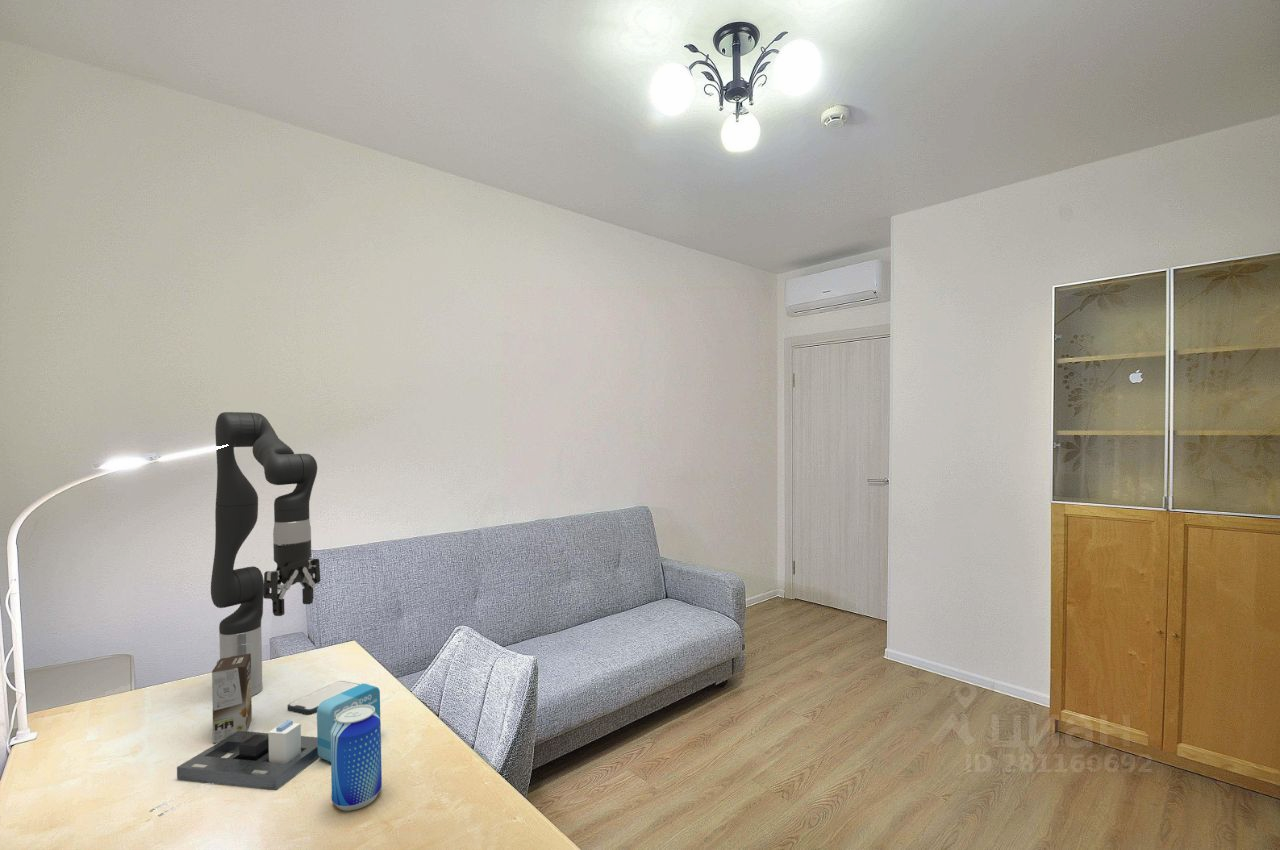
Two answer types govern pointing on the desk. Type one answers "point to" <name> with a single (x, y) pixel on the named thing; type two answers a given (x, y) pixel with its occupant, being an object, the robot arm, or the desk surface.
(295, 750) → the plug
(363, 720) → the beer can
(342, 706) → the teal rounded box
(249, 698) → the coffee box
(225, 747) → the panel
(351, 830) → the desk surface
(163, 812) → the electronic cable
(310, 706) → the phone case
